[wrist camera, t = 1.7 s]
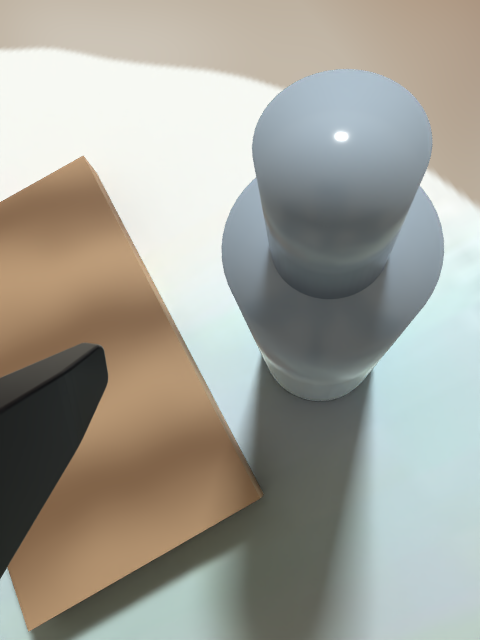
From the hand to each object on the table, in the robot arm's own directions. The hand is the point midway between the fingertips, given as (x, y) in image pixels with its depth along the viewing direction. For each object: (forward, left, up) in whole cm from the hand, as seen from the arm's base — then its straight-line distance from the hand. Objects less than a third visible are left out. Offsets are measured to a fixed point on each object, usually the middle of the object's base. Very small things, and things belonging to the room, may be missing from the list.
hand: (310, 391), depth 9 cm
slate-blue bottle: (+3, -1, -11) cm, 11 cm away
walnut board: (+5, +10, -10) cm, 15 cm away
